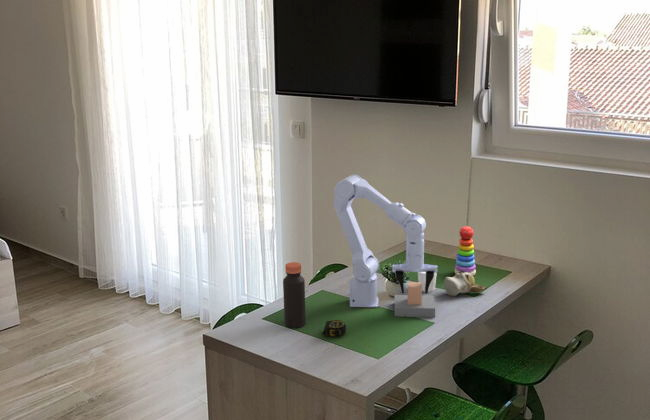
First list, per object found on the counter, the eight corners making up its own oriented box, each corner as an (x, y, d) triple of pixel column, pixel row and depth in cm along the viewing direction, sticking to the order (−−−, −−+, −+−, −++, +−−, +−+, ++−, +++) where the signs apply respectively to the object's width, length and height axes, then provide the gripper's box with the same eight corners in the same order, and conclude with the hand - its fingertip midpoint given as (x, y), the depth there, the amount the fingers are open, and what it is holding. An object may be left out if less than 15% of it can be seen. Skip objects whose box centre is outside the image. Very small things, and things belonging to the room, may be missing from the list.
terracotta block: (407, 304, 227) (407, 287, 225) (407, 298, 231) (407, 282, 230) (421, 304, 226) (421, 287, 225) (421, 299, 231) (421, 282, 229)
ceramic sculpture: (436, 268, 243) (470, 263, 249) (435, 291, 245) (468, 285, 252) (455, 277, 234) (490, 272, 240) (453, 301, 236) (488, 295, 242)
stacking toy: (450, 271, 264) (451, 224, 259) (469, 269, 266) (471, 222, 261) (460, 278, 257) (462, 230, 252) (479, 275, 259) (481, 227, 254)
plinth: (394, 316, 225) (394, 307, 224) (394, 303, 236) (394, 294, 235) (434, 317, 224) (435, 308, 223) (433, 303, 234) (433, 295, 234)
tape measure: (326, 329, 217) (326, 318, 216) (347, 330, 216) (347, 319, 215) (322, 339, 210) (322, 327, 209) (344, 340, 209) (344, 328, 208)
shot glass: (436, 293, 244) (436, 274, 242) (416, 291, 245) (416, 273, 243) (437, 285, 250) (437, 267, 248) (417, 284, 251) (418, 266, 250)
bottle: (280, 324, 221) (277, 264, 216) (296, 317, 226) (294, 259, 220) (294, 330, 216) (292, 270, 211) (310, 323, 221) (308, 264, 216)
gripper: (392, 256, 221) (392, 296, 225) (438, 257, 220) (437, 297, 224) (392, 249, 228) (392, 288, 232) (437, 250, 227) (436, 289, 230)
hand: (414, 292), depth 228 cm, fingers open, 7 cm apart
